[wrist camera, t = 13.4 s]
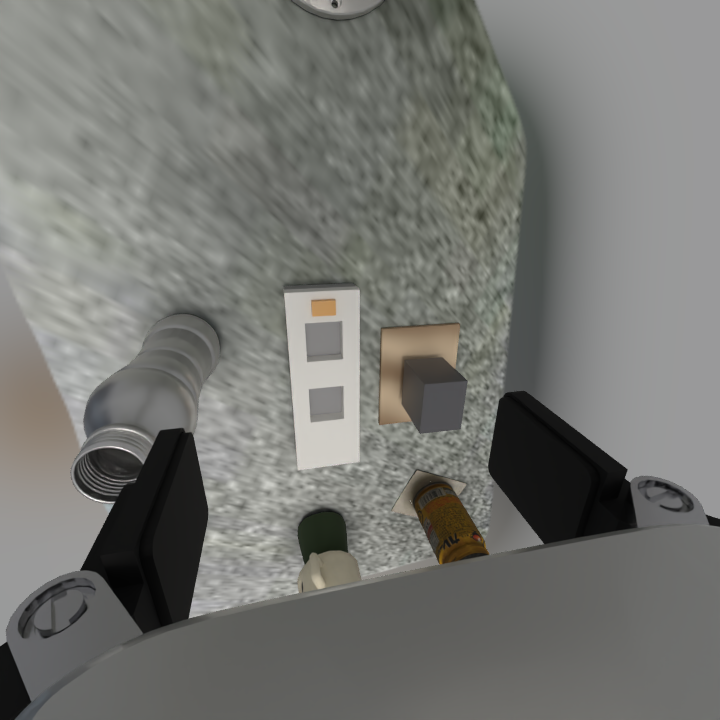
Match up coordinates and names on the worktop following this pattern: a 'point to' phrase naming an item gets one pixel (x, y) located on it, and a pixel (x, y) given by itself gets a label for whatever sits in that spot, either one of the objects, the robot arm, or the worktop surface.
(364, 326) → the worktop surface
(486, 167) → the worktop surface
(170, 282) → the worktop surface
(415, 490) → the condiment
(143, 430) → the plastic bottle
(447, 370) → the block
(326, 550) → the character mug
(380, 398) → the cork pad
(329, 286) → the power strip
